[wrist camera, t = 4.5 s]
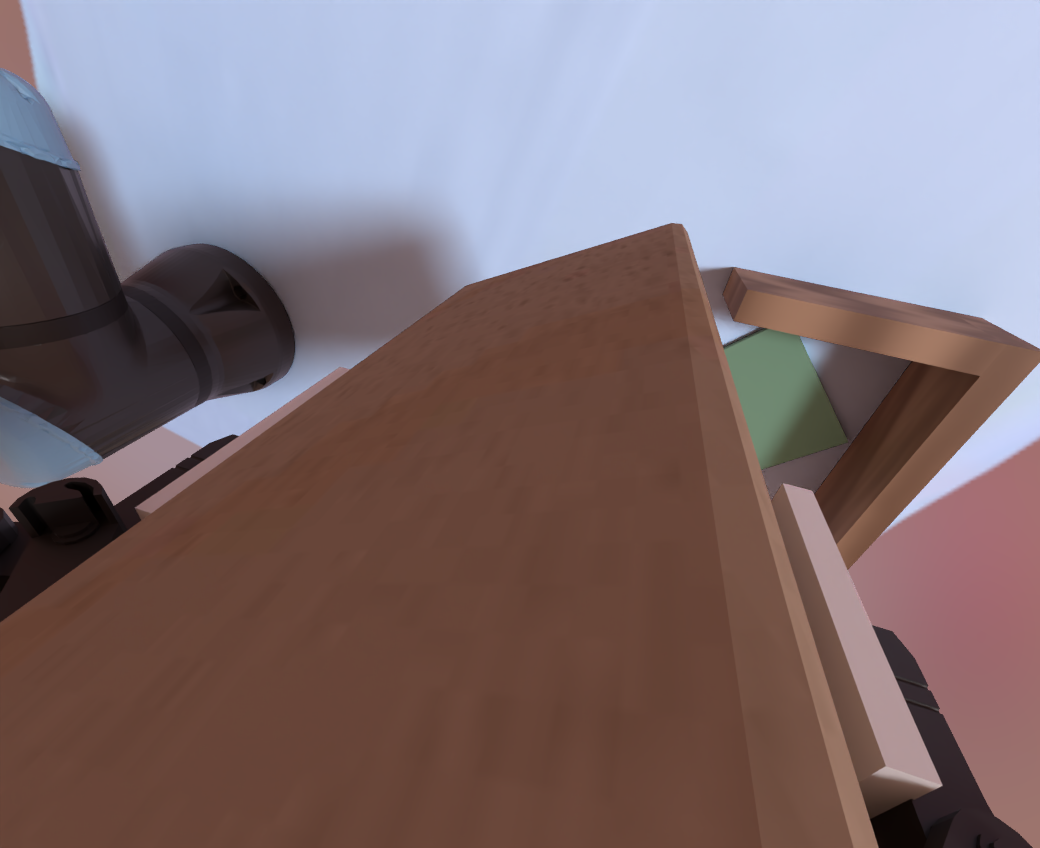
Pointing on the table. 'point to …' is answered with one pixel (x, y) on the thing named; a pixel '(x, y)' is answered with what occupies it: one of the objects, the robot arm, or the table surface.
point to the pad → (781, 397)
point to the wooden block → (452, 608)
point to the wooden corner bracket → (911, 402)
